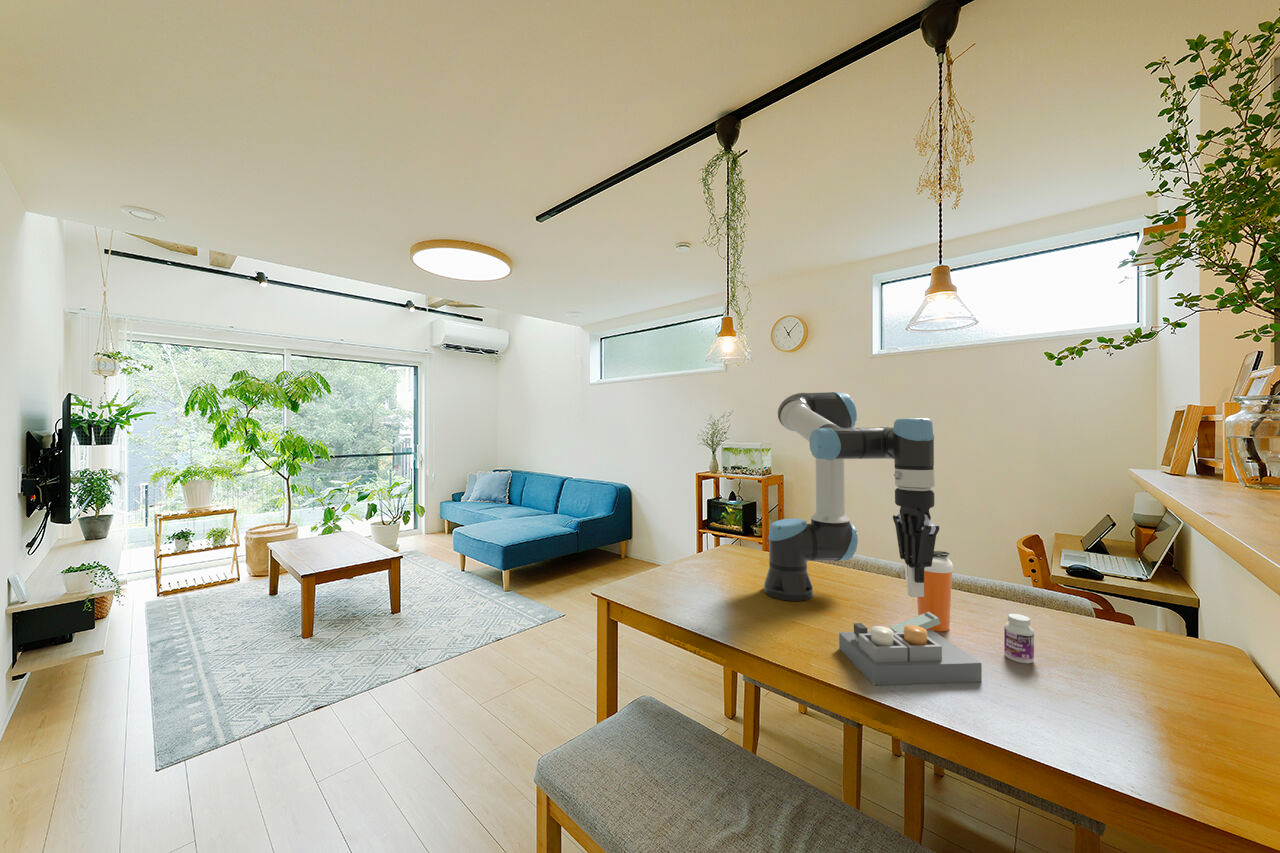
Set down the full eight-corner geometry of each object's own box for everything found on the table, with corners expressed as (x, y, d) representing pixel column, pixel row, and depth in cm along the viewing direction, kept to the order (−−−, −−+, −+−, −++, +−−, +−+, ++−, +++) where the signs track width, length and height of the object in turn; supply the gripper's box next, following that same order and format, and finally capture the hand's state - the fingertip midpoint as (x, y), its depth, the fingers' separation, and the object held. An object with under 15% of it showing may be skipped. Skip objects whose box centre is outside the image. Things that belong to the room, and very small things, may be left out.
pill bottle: (1003, 659, 108) (1003, 617, 108) (1005, 650, 112) (1004, 610, 112) (1034, 666, 105) (1033, 623, 105) (1034, 657, 109) (1034, 616, 109)
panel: (839, 648, 114) (839, 620, 114) (931, 646, 115) (931, 617, 115) (874, 685, 98) (874, 651, 98) (981, 681, 99) (981, 648, 99)
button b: (899, 638, 106) (899, 625, 106) (919, 638, 106) (918, 624, 106) (911, 648, 101) (911, 634, 101) (931, 647, 101) (931, 633, 101)
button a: (867, 639, 105) (867, 626, 105) (886, 639, 105) (886, 625, 105) (877, 649, 101) (877, 635, 101) (897, 648, 101) (897, 634, 101)
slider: (853, 633, 111) (853, 623, 111) (861, 633, 111) (861, 623, 111) (859, 638, 108) (859, 628, 108) (867, 638, 108) (867, 628, 108)
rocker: (892, 632, 112) (889, 626, 112) (930, 617, 112) (928, 610, 112) (900, 639, 108) (898, 632, 108) (940, 623, 109) (938, 616, 109)
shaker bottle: (960, 634, 121) (959, 557, 121) (921, 631, 123) (921, 555, 123) (944, 620, 130) (944, 548, 130) (909, 618, 131) (908, 546, 131)
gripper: (881, 485, 110) (882, 586, 110) (915, 492, 97) (917, 607, 97) (912, 484, 110) (914, 585, 110) (951, 491, 97) (953, 606, 97)
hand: (915, 595), depth 103 cm, fingers closed
